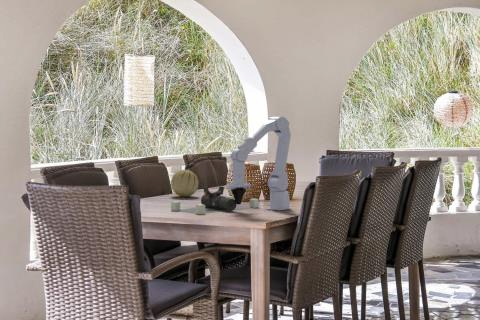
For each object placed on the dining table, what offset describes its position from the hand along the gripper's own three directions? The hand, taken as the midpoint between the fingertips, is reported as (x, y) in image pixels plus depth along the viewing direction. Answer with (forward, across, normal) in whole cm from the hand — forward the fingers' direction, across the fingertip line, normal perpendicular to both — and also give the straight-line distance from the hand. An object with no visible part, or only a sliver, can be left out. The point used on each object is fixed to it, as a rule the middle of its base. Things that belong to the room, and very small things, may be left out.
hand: (238, 204), depth 379 cm
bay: (+3, 0, -14) cm, 15 cm away
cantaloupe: (+4, -27, -63) cm, 69 cm away
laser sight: (+4, 0, -13) cm, 13 cm away
